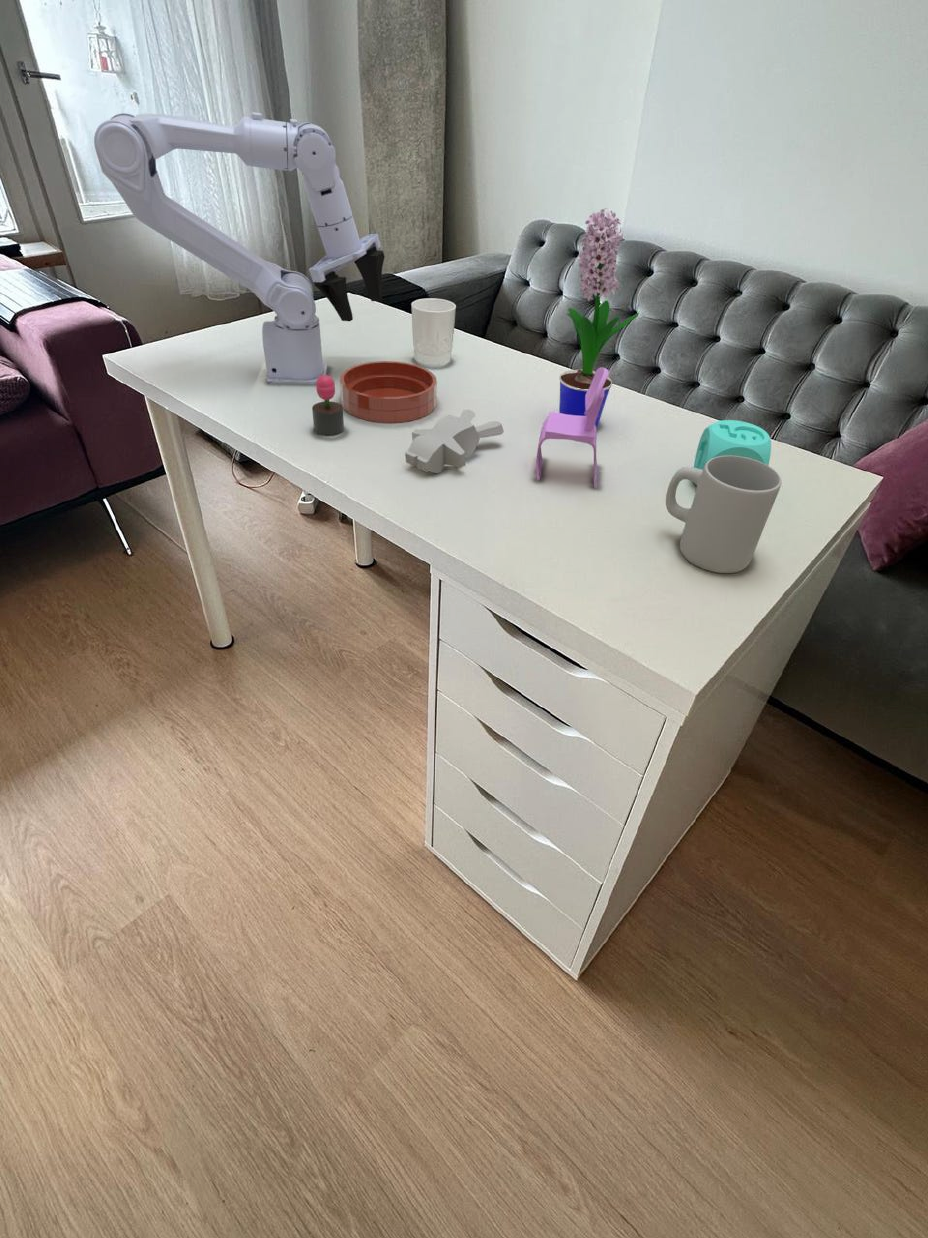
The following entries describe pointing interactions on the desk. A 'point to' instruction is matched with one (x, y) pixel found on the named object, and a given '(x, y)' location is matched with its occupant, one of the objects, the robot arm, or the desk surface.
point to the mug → (724, 511)
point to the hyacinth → (596, 332)
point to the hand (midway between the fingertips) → (362, 310)
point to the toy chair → (576, 422)
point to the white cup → (433, 330)
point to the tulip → (327, 409)
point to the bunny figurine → (448, 442)
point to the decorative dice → (733, 442)
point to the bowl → (388, 391)
